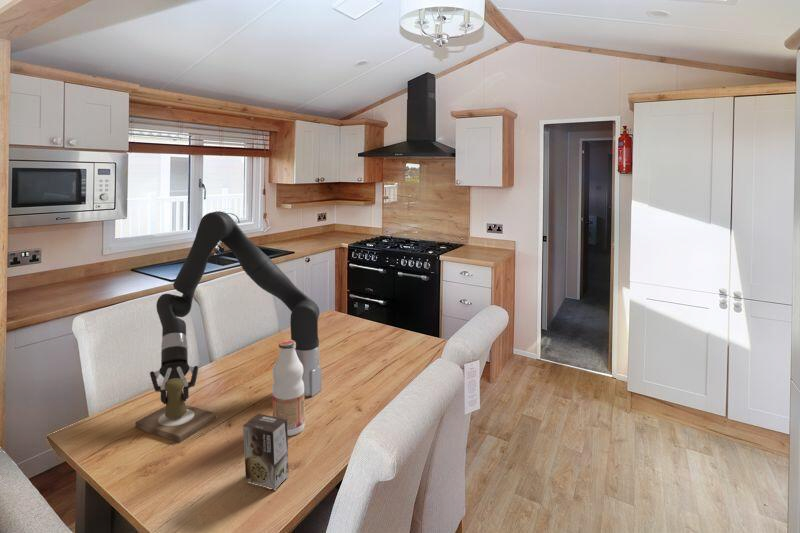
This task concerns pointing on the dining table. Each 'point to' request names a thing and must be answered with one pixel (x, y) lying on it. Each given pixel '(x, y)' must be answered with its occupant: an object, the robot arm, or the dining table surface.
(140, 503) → the dining table surface
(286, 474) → the coffee box
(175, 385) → the cork
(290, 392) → the fruit juice
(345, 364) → the dining table surface
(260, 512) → the dining table surface
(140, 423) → the walnut board
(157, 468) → the dining table surface
